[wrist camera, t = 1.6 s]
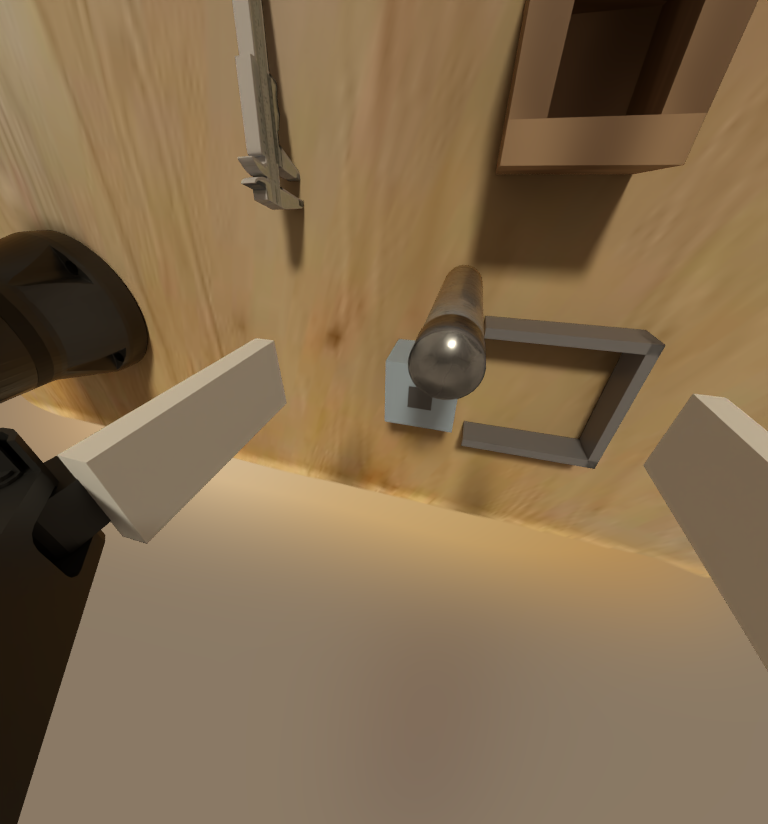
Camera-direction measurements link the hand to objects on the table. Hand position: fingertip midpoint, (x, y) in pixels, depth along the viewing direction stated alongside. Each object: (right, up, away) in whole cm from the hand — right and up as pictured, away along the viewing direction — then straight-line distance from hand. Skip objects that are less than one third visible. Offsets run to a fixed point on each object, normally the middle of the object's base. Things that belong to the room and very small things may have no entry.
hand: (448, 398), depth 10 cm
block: (+2, +3, +19) cm, 19 cm away
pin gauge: (+4, +10, +14) cm, 17 cm away
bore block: (+9, +18, +7) cm, 21 cm away
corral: (+12, +2, +17) cm, 21 cm away
